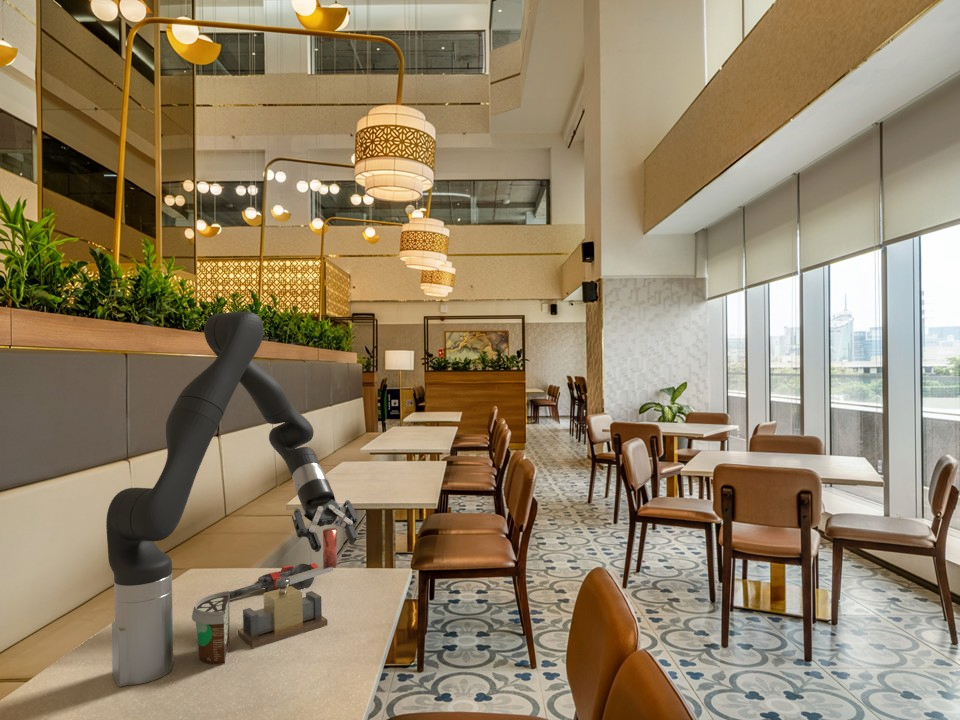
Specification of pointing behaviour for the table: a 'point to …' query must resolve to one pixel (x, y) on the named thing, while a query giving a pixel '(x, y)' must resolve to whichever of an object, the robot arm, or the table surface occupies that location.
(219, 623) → the food container
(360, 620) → the table surface
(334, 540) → the lever
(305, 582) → the valve
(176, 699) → the table surface
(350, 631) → the table surface
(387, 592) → the table surface
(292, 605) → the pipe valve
